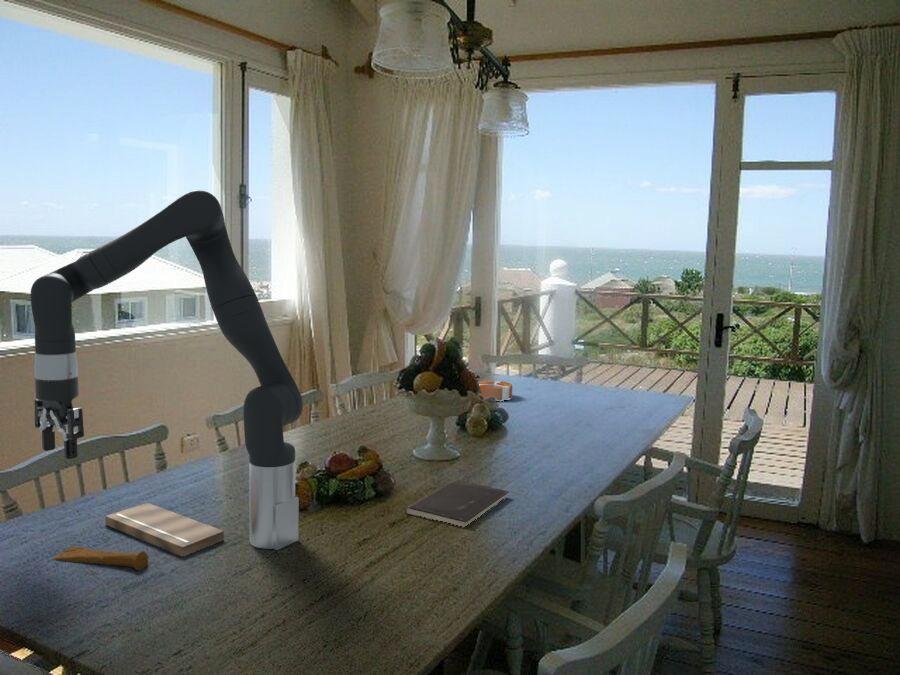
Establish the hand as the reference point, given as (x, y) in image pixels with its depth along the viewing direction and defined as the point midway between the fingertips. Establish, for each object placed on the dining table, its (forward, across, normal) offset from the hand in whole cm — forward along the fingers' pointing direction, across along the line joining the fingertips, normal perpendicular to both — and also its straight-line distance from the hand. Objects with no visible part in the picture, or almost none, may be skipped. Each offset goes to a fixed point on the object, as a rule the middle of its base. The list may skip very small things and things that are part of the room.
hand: (59, 454), depth 145 cm
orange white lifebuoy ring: (+18, +3, -176) cm, 177 cm away
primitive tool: (+19, -15, +1) cm, 24 cm away
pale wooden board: (+18, -12, -15) cm, 26 cm away
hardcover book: (+19, -52, -68) cm, 87 cm away
